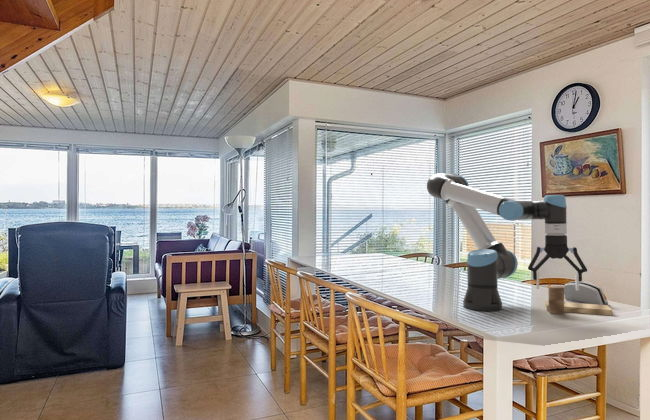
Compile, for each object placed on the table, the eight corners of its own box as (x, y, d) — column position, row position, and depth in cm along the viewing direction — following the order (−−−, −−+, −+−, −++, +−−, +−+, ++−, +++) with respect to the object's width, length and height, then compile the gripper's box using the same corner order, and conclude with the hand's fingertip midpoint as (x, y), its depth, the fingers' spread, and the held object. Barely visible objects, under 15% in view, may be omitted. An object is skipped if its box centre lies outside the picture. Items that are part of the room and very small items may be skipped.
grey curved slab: (609, 304, 180) (604, 283, 178) (602, 309, 178) (597, 287, 176) (571, 297, 195) (566, 277, 193) (565, 302, 193) (560, 281, 191)
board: (547, 310, 170) (547, 305, 170) (545, 305, 179) (545, 300, 179) (612, 315, 162) (612, 310, 162) (607, 310, 170) (607, 305, 170)
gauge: (549, 312, 166) (549, 287, 166) (546, 305, 180) (546, 281, 180) (564, 314, 164) (564, 288, 164) (559, 306, 178) (559, 282, 178)
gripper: (521, 235, 168) (522, 289, 168) (595, 235, 159) (596, 292, 158) (520, 234, 175) (521, 286, 175) (591, 234, 166) (592, 289, 165)
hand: (557, 289), depth 167 cm, fingers open, 13 cm apart
